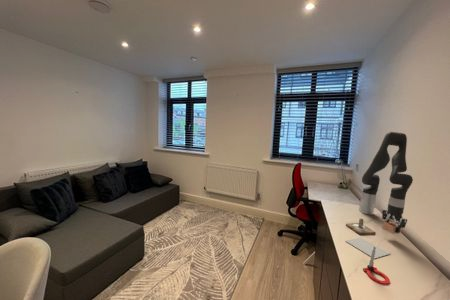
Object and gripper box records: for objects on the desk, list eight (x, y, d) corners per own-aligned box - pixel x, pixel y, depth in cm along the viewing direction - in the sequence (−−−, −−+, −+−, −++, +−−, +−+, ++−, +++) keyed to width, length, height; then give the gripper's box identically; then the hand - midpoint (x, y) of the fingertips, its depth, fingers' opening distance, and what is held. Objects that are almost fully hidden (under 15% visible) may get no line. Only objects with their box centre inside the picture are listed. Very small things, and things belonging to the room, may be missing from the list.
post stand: (345, 225, 139) (347, 214, 139) (360, 225, 141) (361, 214, 140) (359, 234, 128) (361, 223, 127) (375, 234, 130) (377, 222, 129)
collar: (383, 228, 127) (384, 222, 126) (390, 228, 128) (392, 222, 127) (392, 233, 121) (393, 227, 120) (400, 233, 122) (401, 226, 121)
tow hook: (394, 285, 87) (376, 269, 96) (400, 259, 85) (381, 245, 94) (377, 286, 86) (360, 270, 95) (383, 260, 84) (365, 246, 93)
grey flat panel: (370, 236, 128) (370, 235, 127) (418, 261, 104) (419, 260, 104) (345, 241, 119) (345, 240, 119) (392, 270, 96) (392, 269, 96)
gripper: (413, 209, 115) (408, 235, 118) (390, 200, 129) (385, 223, 132) (403, 209, 114) (398, 236, 116) (380, 200, 128) (376, 224, 131)
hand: (391, 229), depth 124 cm, fingers closed on collar, 6 cm apart
